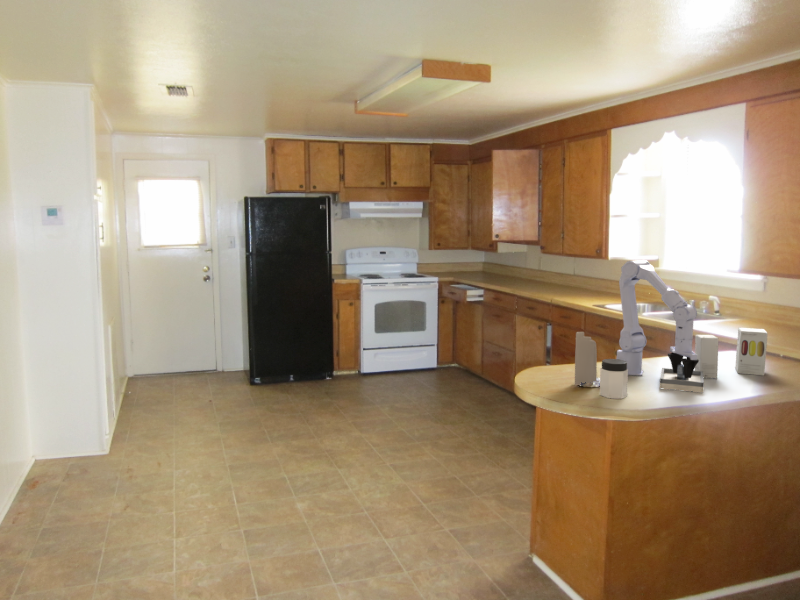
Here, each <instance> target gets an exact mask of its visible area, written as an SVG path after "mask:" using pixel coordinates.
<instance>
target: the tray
mask: <svg viewBox="0 0 800 600" xmlns="http://www.w3.org/2000/svg"><path fill="white" fill-rule="evenodd" d="M660 372H661V373H660V377H659V389H660V388H664V389H663V390H670V389H674V390H673V391H680V390H684V391H683V392H691V391H693V392H694V393H701V392H702V393H701V394H703V393H704V386H705V382H704V379H705V378H703V371H695V370H693V373H692V376H691V378H687V380H677V373H673V369H672V368H669V367H667V368H666V367H662V368H661V371H660ZM675 389H676V390H675ZM693 392H692V393H693Z"/></svg>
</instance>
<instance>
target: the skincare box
mask: <svg viewBox="0 0 800 600" xmlns="http://www.w3.org/2000/svg"><path fill="white" fill-rule="evenodd" d="M694 339H695V341H694V343H695V344H694V345H695V348H694V349H695V350H694V351H695V352H694V353H695V354H697V359H698V360H699V362H698V363H697V365H696V366H695V368H694V371H703V377H704V378H703V379H713V378H715V379H718V370H719V369H718V367H719V365H718V364H719V362H718V361H719V340H720V339H719V337H717V336H715V335H713V334H695V338H694Z"/></svg>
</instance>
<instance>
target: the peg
mask: <svg viewBox="0 0 800 600" xmlns="http://www.w3.org/2000/svg"><path fill="white" fill-rule="evenodd" d="M677 380H687V378H685V377H684V367H683V363H681V364H678V367H677Z"/></svg>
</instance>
